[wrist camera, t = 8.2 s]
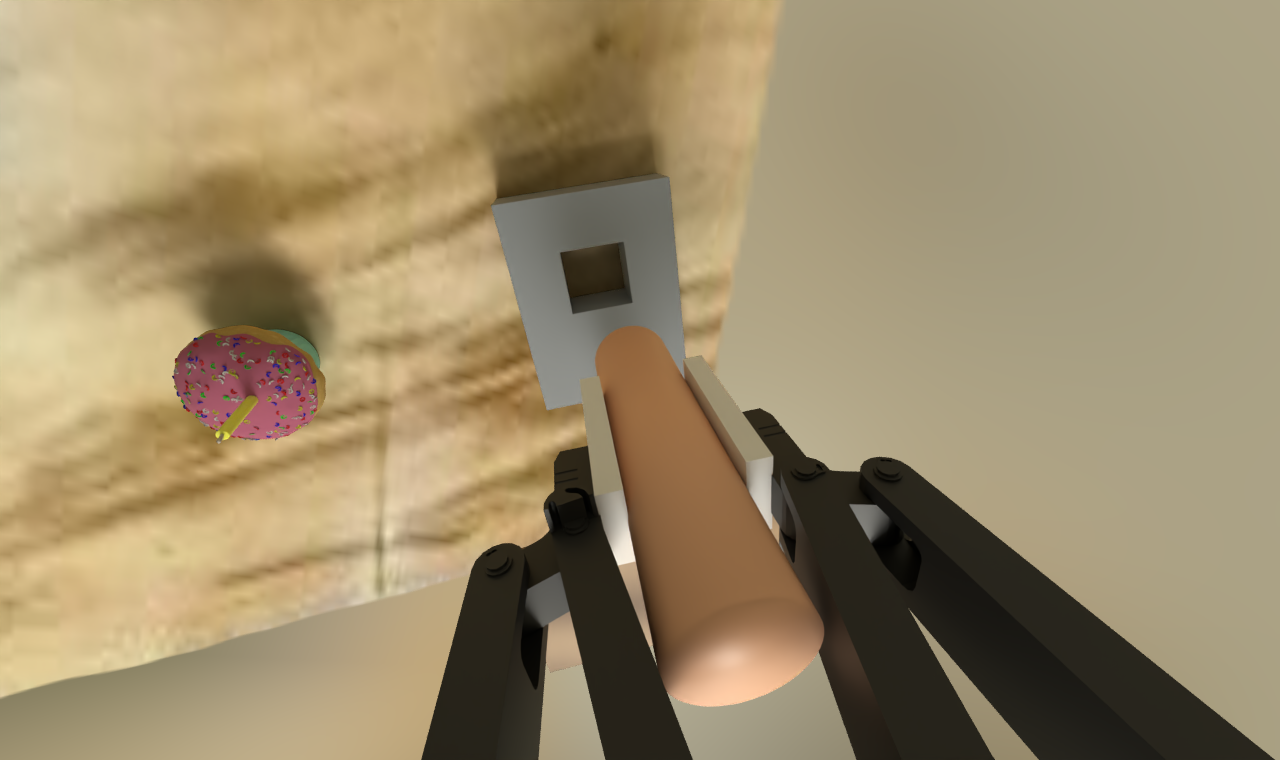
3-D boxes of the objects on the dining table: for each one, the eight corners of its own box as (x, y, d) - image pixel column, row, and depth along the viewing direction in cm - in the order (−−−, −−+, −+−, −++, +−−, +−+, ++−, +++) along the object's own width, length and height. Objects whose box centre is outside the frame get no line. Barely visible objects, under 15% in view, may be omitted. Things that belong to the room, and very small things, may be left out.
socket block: (496, 198, 33) (490, 205, 30) (656, 173, 34) (669, 177, 31) (546, 387, 41) (547, 410, 37) (675, 361, 42) (687, 381, 38)
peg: (602, 398, 22) (668, 722, 10) (588, 333, 20) (648, 624, 8) (670, 384, 22) (819, 680, 10) (662, 319, 21) (829, 578, 8)
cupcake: (318, 298, 34) (217, 368, 24) (364, 394, 38) (296, 490, 28) (194, 317, 33) (33, 399, 23) (255, 414, 37) (142, 521, 27)
